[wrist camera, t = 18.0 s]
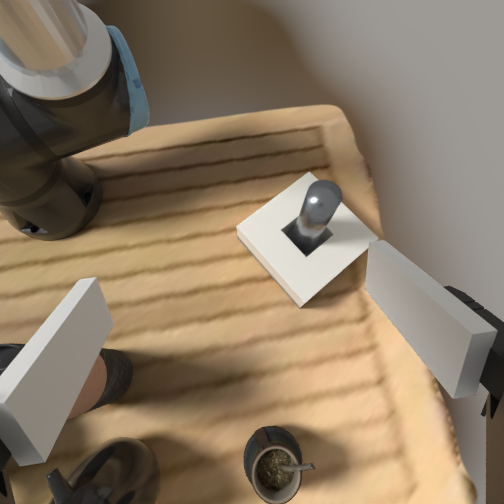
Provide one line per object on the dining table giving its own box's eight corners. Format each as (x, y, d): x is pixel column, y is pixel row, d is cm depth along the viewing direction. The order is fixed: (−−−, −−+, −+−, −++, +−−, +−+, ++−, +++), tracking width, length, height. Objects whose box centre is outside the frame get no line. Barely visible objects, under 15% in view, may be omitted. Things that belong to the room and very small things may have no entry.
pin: (285, 240, 48) (299, 192, 34) (303, 226, 49) (324, 173, 35) (302, 258, 47) (324, 217, 33) (320, 243, 48) (349, 197, 34)
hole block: (237, 238, 49) (236, 226, 45) (304, 187, 53) (309, 171, 48) (299, 308, 46) (304, 303, 41) (366, 249, 49) (379, 238, 44)
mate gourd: (233, 440, 40) (229, 465, 31) (281, 408, 41) (291, 423, 32) (260, 497, 38) (264, 543, 28) (310, 462, 39) (330, 494, 30)
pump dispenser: (153, 414, 41) (99, 446, 27) (179, 497, 38) (135, 584, 23) (80, 451, 40) (-19, 506, 25) (101, 540, 36) (3, 661, 22)
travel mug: (109, 336, 44) (3, 323, 25) (145, 371, 43) (61, 384, 24) (69, 379, 42) (-78, 400, 23) (105, 418, 41) (-21, 472, 22)
